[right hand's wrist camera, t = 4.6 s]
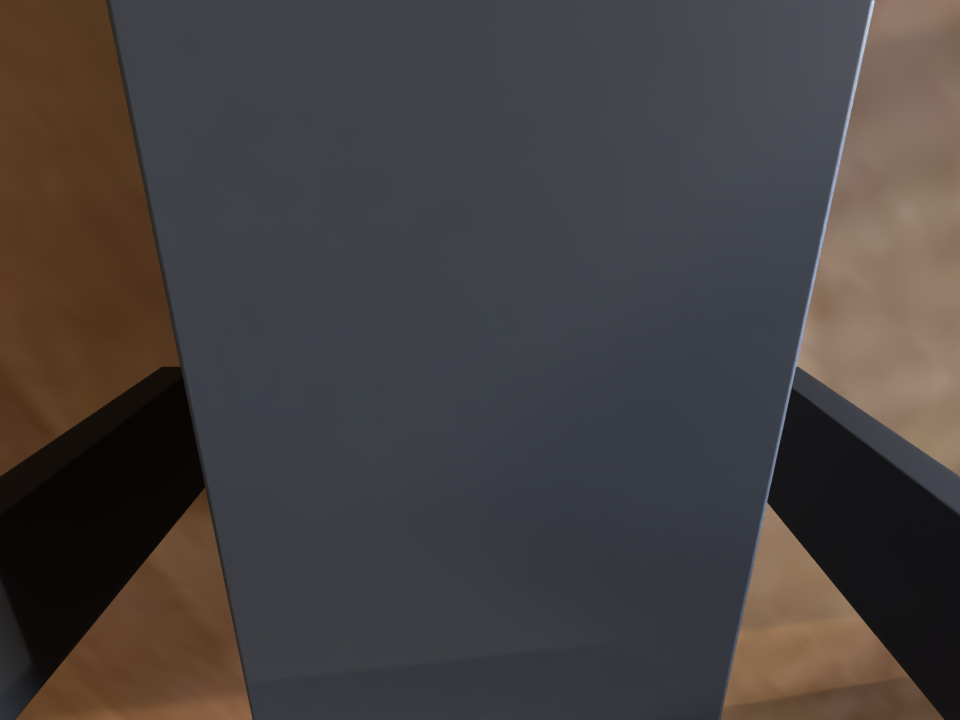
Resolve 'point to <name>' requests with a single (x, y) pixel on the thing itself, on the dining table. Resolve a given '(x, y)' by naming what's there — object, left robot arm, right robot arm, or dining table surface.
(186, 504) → the right robot arm
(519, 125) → the beam
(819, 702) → the dining table surface
